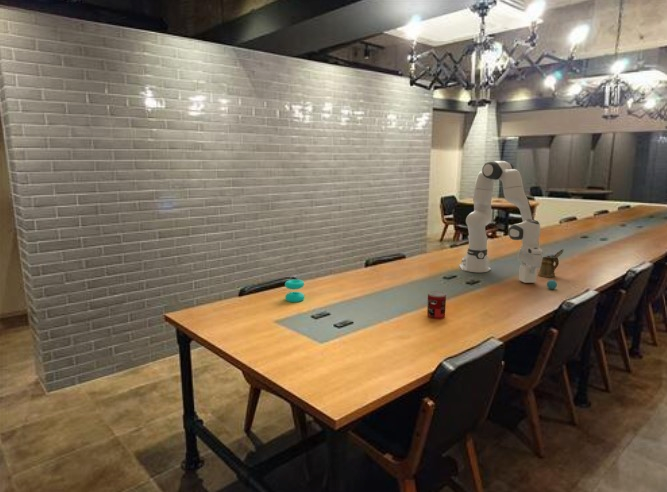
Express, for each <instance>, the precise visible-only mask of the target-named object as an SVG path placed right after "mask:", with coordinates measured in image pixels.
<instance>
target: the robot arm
mask: <svg viewBox="0 0 667 492" xmlns="http://www.w3.org/2000/svg"><path fill="white" fill-rule="evenodd" d="M497 180H499V181H500V182H502V183H501V184H502V190H503V196H504V199H505V200H506V202H508V203H509V204H512V205H513V206H515V207H517V208H518V209H519V212H520V215H521V219H522V222H519V223H514V224H512V225H510V226H509V228H508V231H507V232H508V233H507V235H508V236H509V238H510V239H511V240H513V241H522V244H521V247H520V248H519V250H518V255H517V259H518V260H519V261H520V262H521V265H530V266H531V270H530V273H531V274H534V270H535V269H536V268H537V269H538V268H539V269H540V267H541V264H542V258H543V254H544V250H543V249H542V248H541V245H540V237H541V223H540V222H539V221H538V220H536V219H534V216H533V211H532V208H531V204H530V201H529V199H528V196H526V193H525V189H524V188H525V187H524V183H523V179H522V175H521V172H520V171H519V170H518V169H516V168H515V166H514V164H513V163H512V162H510V161H507V160H506V161H505V160H491V161H488V162H486V163H484V164H483V166H482V169H481V171H479V173H478V174H477V175H476V179H475V184H474V188H473V194H472V195H473V197H472V202H473V211H471V212H470V213H469V214H468V215H467V216H466V218H465V224H466V226H467V231H468V248H467V252H466V253H467V254H465V255H464V256H463V258H462V259H461V263H459V264H458V266H459V268H460V269H461V271H463V272H471V273H487V272H489V271H491V269H492V268H491V267H490V257H488V235H487V231H486V226H488V225H489V224H490V223H491V222H492V220H493V215H492V199H493V198H492V197H493V192H494V186H495V185H494V184H495V182H496V181H497Z"/></svg>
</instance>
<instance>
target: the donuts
mask: <svg viewBox="0 0 667 492" xmlns="http://www.w3.org/2000/svg"><path fill="white" fill-rule="evenodd" d="M304 286H305V281H304V280H302V279H298V278H297V279H288V280H287V281H285V283H284V287H286V288H287V289H289V290H300V289H302V288H303V287H304ZM284 298H285V301H287V302H291V303H298V302H302V301H304V299H305V298H306V297H305V295H304V292H303V293H302V292H300V291H291V292H290V291H289V292H288V293H286V294H285V297H284Z"/></svg>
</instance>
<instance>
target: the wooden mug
mask: <svg viewBox="0 0 667 492" xmlns="http://www.w3.org/2000/svg"><path fill="white" fill-rule="evenodd" d="M563 253H564V248H562V249H560V250H559V251H558V252H557V253H555V255H554V257H550V256H542V264H541V267H540V268H539V272H537V276H539V277H542V278H554V277H555V275H556V273H555V270H556V269H557V268H558V266H559V263H560V262H559V257H561V255H562V254H563Z"/></svg>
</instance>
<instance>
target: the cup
mask: <svg viewBox="0 0 667 492" xmlns="http://www.w3.org/2000/svg"><path fill="white" fill-rule="evenodd" d="M530 270H531V266H530V265H528V264H526V265H522V264H519V271H518V280H519V281H521V282H523V283H525V284H526V283H529V284H531V283H532V284H533V283H537V279H538V278H537V277H538V268H536V269H535V270H534V274H531V273H530Z"/></svg>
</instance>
